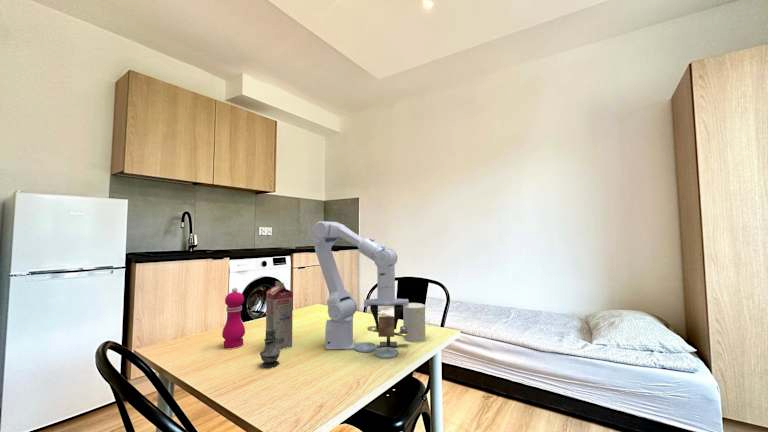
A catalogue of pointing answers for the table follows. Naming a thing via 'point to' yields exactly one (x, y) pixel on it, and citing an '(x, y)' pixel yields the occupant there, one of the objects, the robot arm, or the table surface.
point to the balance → (402, 333)
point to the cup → (414, 321)
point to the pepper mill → (233, 320)
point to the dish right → (386, 352)
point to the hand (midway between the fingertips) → (386, 328)
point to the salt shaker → (270, 349)
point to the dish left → (365, 347)
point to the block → (386, 326)
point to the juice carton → (280, 314)
